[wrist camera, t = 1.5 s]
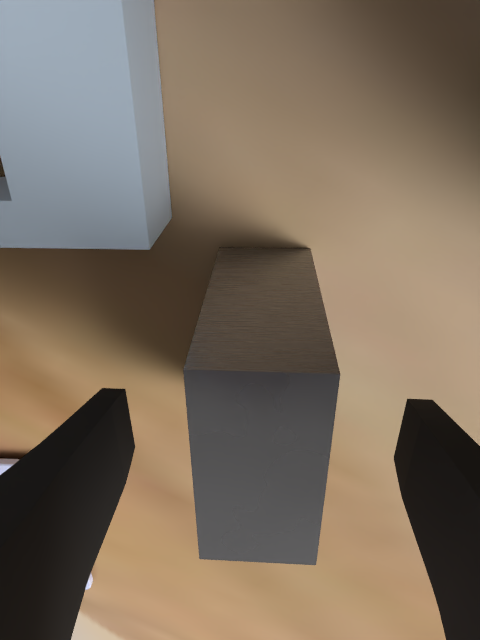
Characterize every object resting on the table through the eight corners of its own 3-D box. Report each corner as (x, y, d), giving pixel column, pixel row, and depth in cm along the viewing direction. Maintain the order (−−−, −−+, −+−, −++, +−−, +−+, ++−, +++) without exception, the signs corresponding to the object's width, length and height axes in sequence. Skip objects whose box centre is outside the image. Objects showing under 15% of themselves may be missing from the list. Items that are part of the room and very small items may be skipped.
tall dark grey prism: (299, 393, 17) (315, 565, 11) (224, 390, 17) (199, 559, 11) (310, 248, 14) (340, 373, 8) (219, 246, 15) (183, 369, 8)
